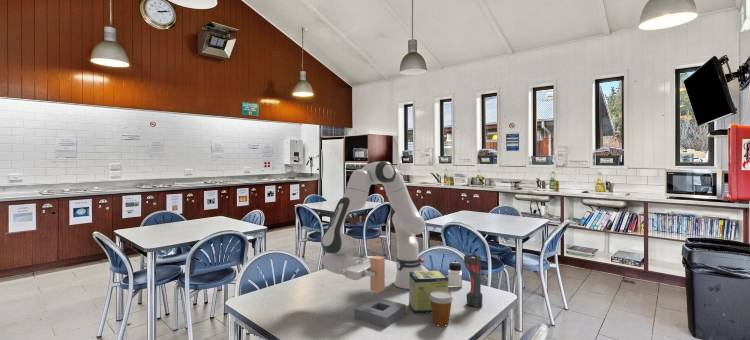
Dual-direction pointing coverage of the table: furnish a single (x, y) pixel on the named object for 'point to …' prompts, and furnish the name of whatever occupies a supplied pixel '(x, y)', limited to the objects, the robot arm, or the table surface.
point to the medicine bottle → (455, 274)
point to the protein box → (425, 289)
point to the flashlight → (474, 279)
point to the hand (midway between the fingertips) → (379, 272)
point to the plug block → (377, 273)
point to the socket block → (380, 311)
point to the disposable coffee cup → (440, 307)
